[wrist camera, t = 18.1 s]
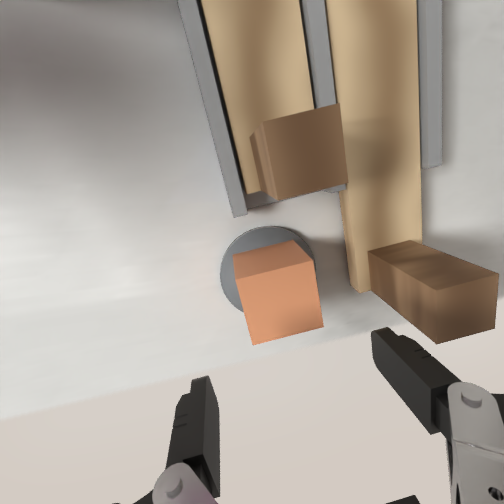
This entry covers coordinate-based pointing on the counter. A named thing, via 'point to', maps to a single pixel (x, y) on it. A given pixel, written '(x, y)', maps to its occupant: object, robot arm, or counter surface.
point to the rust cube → (277, 291)
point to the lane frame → (315, 87)
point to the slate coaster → (249, 242)
